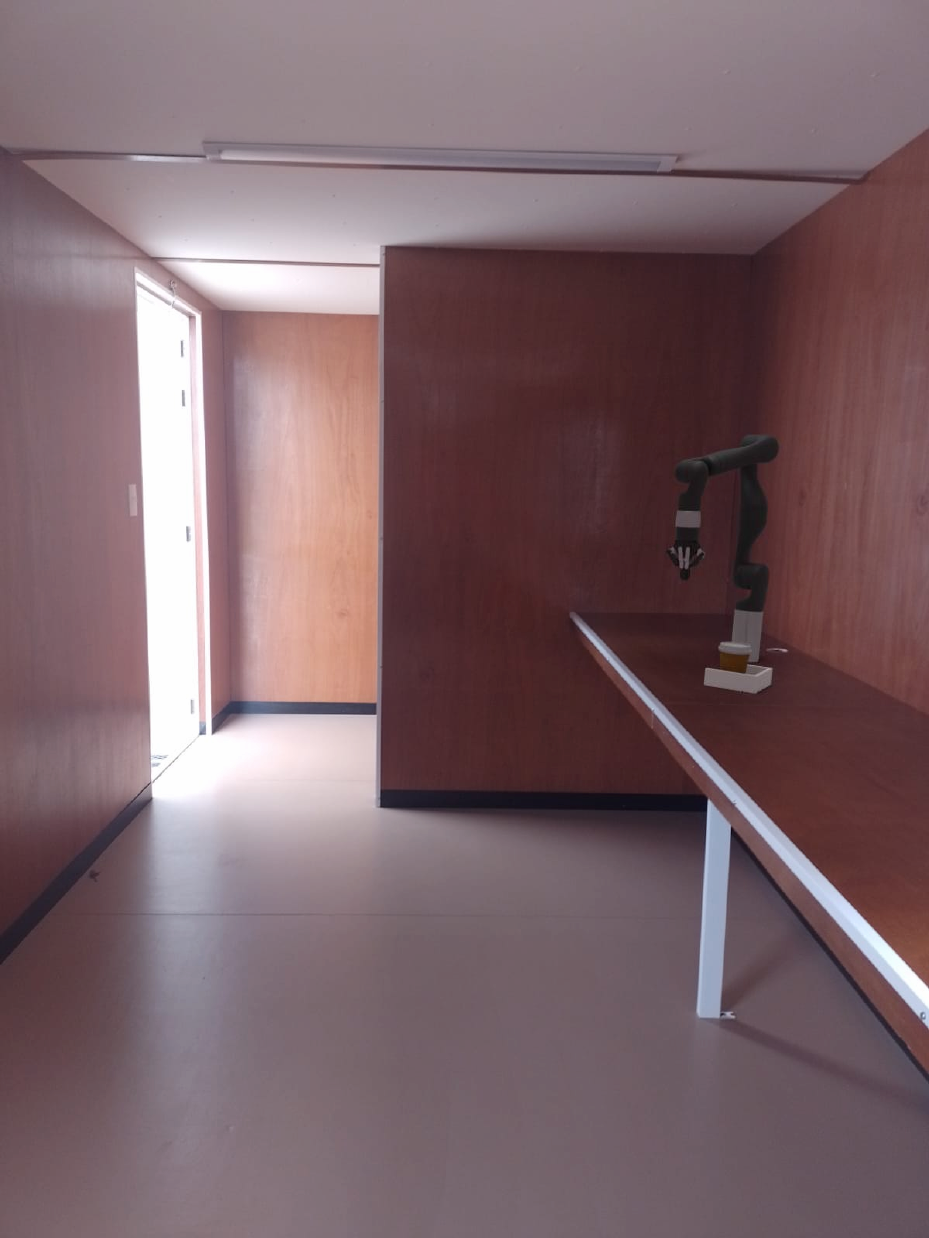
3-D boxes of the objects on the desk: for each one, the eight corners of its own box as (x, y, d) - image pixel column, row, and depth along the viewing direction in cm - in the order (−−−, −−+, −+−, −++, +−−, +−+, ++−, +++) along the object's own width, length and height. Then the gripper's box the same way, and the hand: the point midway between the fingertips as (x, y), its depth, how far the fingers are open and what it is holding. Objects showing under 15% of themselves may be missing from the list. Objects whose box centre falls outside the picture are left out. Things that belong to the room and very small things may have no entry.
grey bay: (721, 676, 276) (722, 660, 275) (770, 684, 267) (772, 668, 267) (703, 685, 262) (705, 668, 262) (755, 693, 254) (756, 676, 253)
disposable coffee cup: (752, 688, 261) (756, 648, 259) (720, 687, 261) (723, 646, 259) (742, 681, 270) (746, 642, 268) (711, 679, 270) (715, 640, 268)
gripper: (712, 526, 279) (709, 581, 281) (672, 523, 286) (669, 577, 289) (703, 527, 273) (700, 583, 275) (663, 524, 280) (660, 579, 283)
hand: (684, 580), depth 282 cm, fingers closed
